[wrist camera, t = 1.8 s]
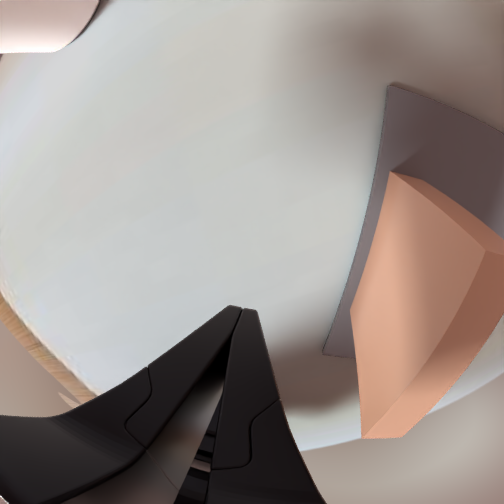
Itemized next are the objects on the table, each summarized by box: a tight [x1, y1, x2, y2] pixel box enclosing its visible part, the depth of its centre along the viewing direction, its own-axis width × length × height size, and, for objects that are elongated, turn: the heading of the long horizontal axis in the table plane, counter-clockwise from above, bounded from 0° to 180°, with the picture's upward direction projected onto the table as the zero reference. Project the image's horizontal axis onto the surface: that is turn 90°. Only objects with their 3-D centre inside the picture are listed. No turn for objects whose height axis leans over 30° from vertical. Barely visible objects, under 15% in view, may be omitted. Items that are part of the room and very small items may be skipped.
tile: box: [350, 171, 504, 438], centre depth 9 cm, size 8×2×8 cm, turn 175°
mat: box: [323, 85, 504, 358], centre depth 12 cm, size 16×12×1 cm
